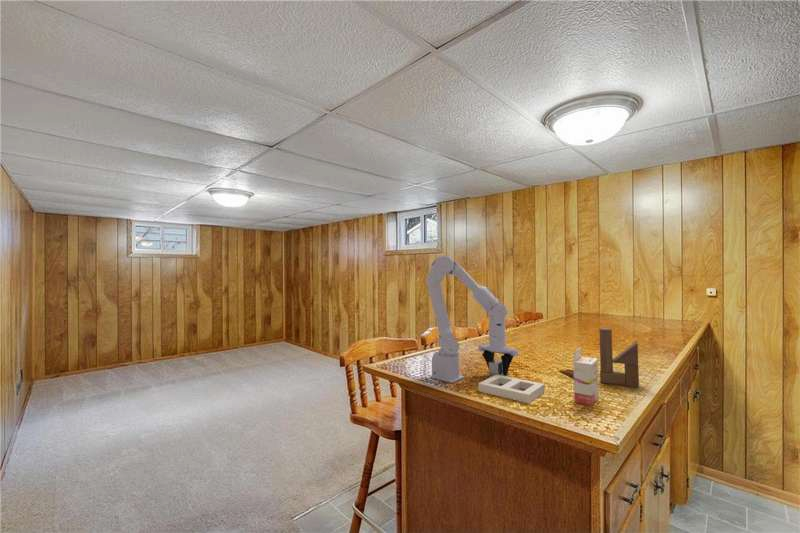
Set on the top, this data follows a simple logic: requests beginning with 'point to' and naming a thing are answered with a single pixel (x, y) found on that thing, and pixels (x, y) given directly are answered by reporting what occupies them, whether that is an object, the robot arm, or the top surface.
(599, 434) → the top surface
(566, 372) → the primitive tool
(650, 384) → the top surface
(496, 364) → the tall grey block
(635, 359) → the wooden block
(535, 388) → the light grey flat piece
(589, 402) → the ink cartridge box
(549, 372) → the top surface
